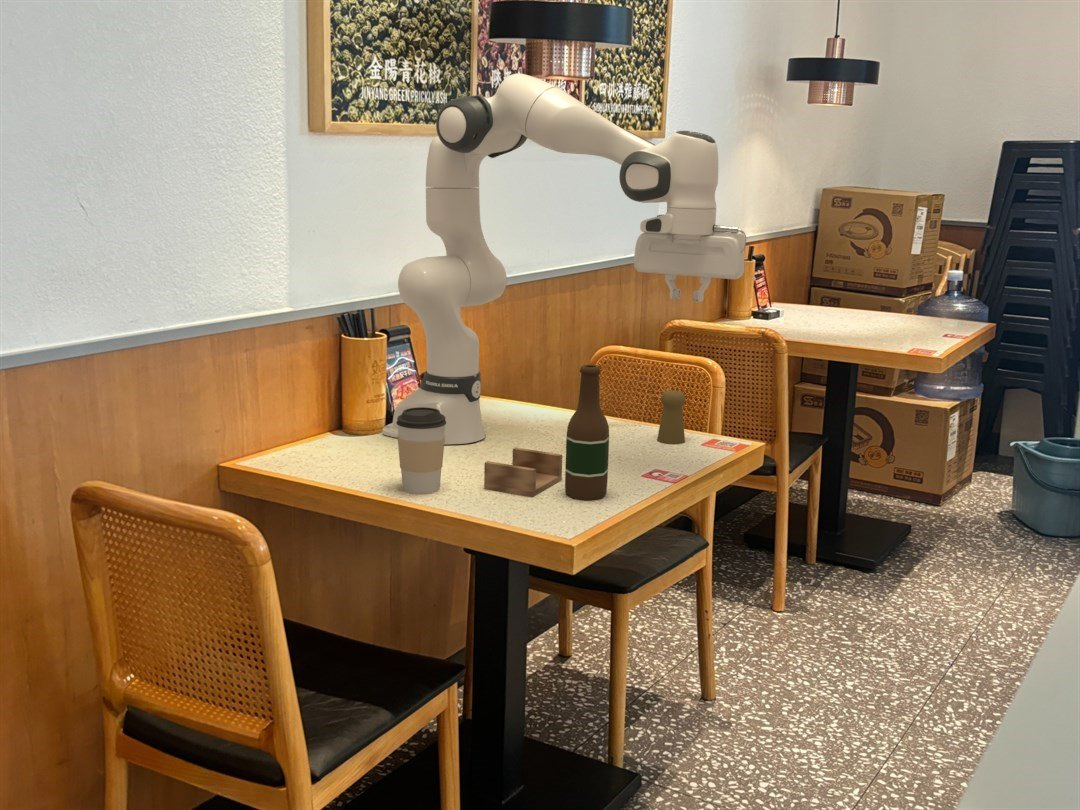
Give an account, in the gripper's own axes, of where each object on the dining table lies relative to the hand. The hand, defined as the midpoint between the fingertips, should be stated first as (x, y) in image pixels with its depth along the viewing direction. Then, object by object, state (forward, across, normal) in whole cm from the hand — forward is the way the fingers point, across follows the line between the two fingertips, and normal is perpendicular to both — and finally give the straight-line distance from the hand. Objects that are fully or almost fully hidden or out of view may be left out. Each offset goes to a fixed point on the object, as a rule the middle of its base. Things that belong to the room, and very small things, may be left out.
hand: (686, 300), depth 210 cm
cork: (+35, +12, -30) cm, 48 cm away
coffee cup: (+35, +40, +27) cm, 60 cm away
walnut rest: (+35, +25, +15) cm, 46 cm away
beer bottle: (+35, +12, +15) cm, 40 cm away
